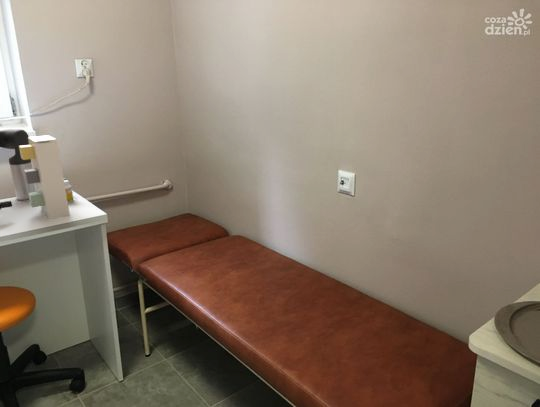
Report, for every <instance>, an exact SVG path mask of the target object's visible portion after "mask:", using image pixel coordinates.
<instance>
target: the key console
mask: <svg viewBox="0 0 540 407" xmlns="http://www.w3.org/2000/svg"><path fill="white" fill-rule="evenodd" d="M28 141H29V145H33V147H34V152H35V157H36V158H35V159H31V163H32V168H36V169H38V173H39V178H40V182H39V183H36V188H37V192H38V191H41V192H42V194H43V199H44V204H45V205H44V206H40V208H41V210H42V211H43V213H44V215H46V217H47V218H48V220H49V219H55V218H60V217H66V216H70V215H71V214H70V213H71V212H70V208H69V202H67V196H66V190H65V184H64V179H63V178H64V174H63V169H62V168H63V167H62V162H61V156H60V150H59V144H58V140H57V138H55V137H54V136H51V135H38V136H37V135H36V136H29V137H28Z"/></svg>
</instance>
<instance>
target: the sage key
mask: <svg viewBox="0 0 540 407" xmlns="http://www.w3.org/2000/svg"><path fill="white" fill-rule="evenodd" d="M28 194H29V199H28V200H29V203H30V206H31V207H32V208H37V207H41V206H44V205H45V204H44V199H43V194H42V192H41V191H38V190H37V192H32V193H28Z"/></svg>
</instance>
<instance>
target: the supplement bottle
mask: <svg viewBox="0 0 540 407" xmlns="http://www.w3.org/2000/svg"><path fill="white" fill-rule="evenodd" d="M64 184H65V190H66V196H67V202H68V203H71V202H73V201H74V196H73V189H72V186H71V184H70V181H69V180H68V179H67V180H64Z"/></svg>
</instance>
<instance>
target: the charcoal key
mask: <svg viewBox="0 0 540 407" xmlns="http://www.w3.org/2000/svg"><path fill="white" fill-rule="evenodd" d="M32 168H33V169H26V170H24V174H25V179H26V182H27V183H28V184H32V183H36V184H37V183H39V182H40V178H39V173H38V169H36V168H34V167H32Z"/></svg>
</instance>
